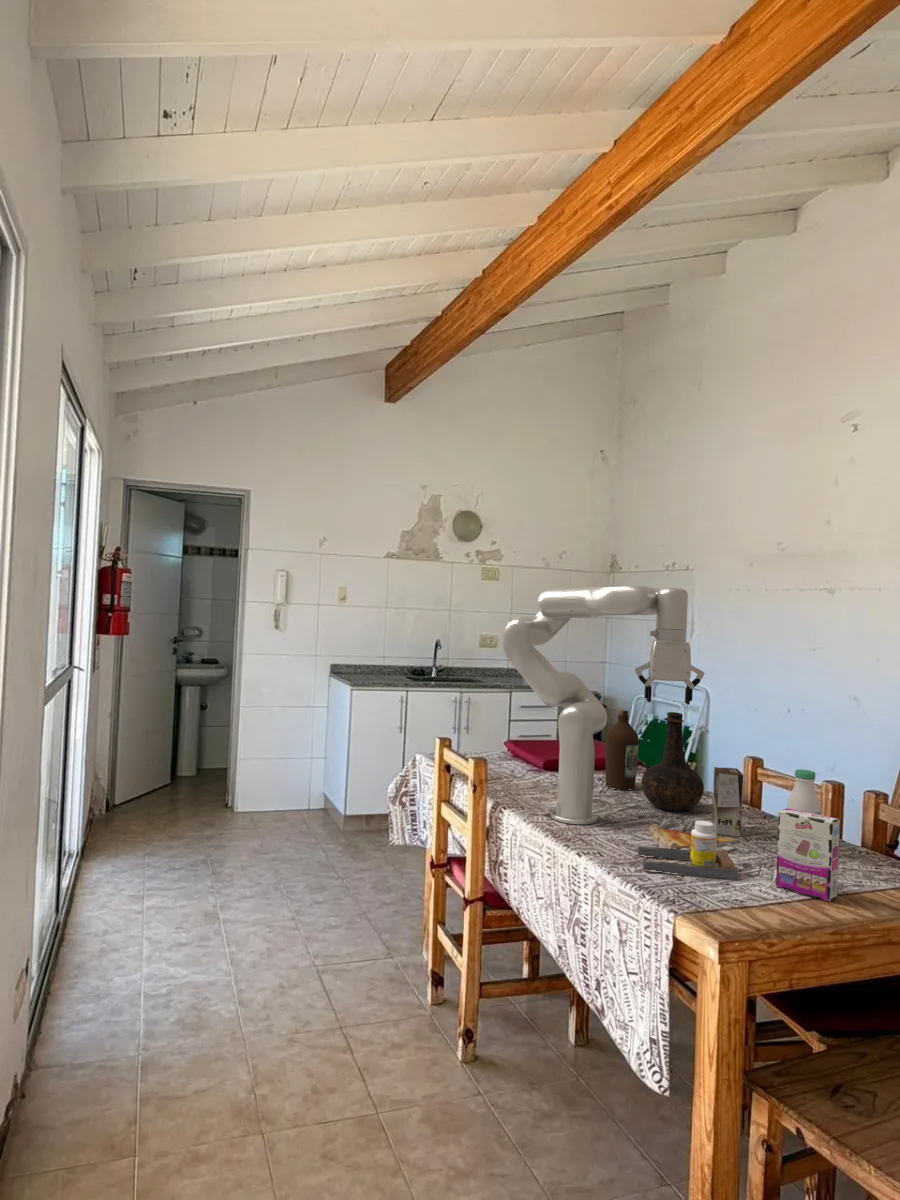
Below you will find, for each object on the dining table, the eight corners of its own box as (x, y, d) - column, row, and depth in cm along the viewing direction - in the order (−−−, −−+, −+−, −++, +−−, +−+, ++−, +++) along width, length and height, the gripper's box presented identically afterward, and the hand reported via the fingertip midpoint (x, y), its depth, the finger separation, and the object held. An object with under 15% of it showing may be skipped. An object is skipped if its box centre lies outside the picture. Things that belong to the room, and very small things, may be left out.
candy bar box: (838, 897, 161) (841, 818, 161) (829, 903, 158) (833, 822, 158) (784, 881, 169) (787, 806, 169) (774, 887, 166) (777, 810, 166)
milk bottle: (804, 858, 186) (808, 775, 186) (777, 849, 193) (781, 768, 193) (826, 855, 190) (829, 773, 190) (798, 845, 197) (802, 766, 197)
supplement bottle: (695, 862, 180) (697, 818, 180) (719, 868, 177) (721, 823, 177) (685, 867, 176) (687, 822, 176) (709, 874, 172) (711, 828, 172)
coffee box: (741, 837, 202) (744, 775, 202) (715, 834, 203) (718, 772, 203) (735, 827, 211) (738, 767, 211) (711, 824, 212) (713, 765, 212)
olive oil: (596, 786, 252) (600, 709, 252) (615, 782, 260) (618, 707, 260) (625, 793, 245) (628, 713, 245) (643, 788, 252) (646, 711, 252)
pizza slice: (739, 861, 184) (739, 853, 184) (642, 847, 191) (643, 839, 191) (738, 843, 198) (739, 835, 198) (649, 830, 206) (649, 823, 206)
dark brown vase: (693, 801, 238) (697, 709, 238) (711, 817, 220) (715, 718, 220) (634, 798, 239) (638, 707, 239) (647, 813, 221) (652, 715, 221)
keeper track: (643, 871, 172) (644, 858, 172) (637, 854, 184) (638, 841, 184) (737, 879, 169) (738, 866, 169) (725, 861, 181) (725, 848, 181)
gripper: (638, 635, 197) (635, 702, 197) (708, 638, 195) (705, 706, 195) (634, 634, 205) (632, 698, 204) (702, 637, 202) (699, 703, 202)
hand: (667, 702), depth 200 cm, fingers open, 9 cm apart
